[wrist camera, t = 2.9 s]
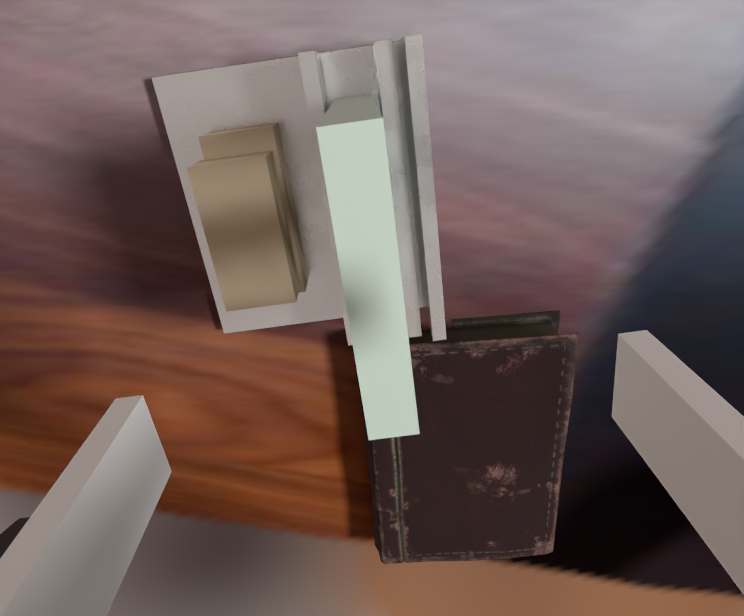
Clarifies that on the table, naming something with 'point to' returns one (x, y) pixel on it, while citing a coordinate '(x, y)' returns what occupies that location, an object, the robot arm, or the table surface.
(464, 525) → the diary
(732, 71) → the table surface
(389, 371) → the board
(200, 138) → the offcut lower
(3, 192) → the table surface
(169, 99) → the rack
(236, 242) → the offcut upper
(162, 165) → the table surface
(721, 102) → the table surface
